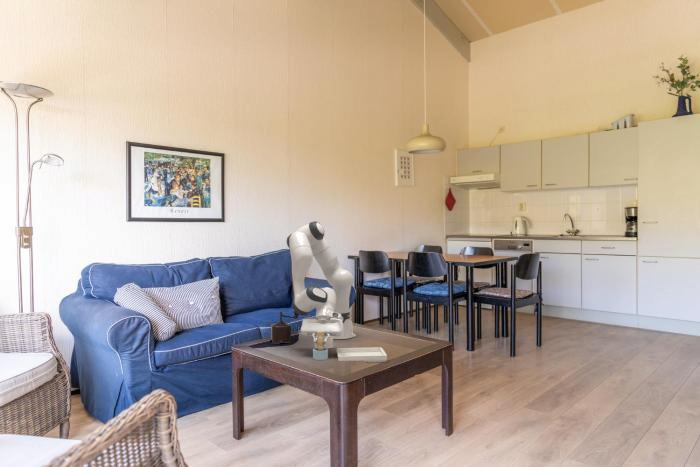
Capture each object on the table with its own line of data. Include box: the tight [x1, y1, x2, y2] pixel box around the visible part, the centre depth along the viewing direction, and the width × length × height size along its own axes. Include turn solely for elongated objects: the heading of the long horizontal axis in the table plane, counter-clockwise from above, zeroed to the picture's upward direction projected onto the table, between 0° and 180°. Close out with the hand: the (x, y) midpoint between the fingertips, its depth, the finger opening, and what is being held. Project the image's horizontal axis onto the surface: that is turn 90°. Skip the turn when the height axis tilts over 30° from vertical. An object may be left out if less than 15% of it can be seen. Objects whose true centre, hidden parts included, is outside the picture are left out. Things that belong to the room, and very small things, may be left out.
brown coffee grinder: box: [270, 310, 300, 343], centre depth 250 cm, size 16×11×18 cm
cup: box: [312, 347, 329, 361], centre depth 211 cm, size 7×7×5 cm
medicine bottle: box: [313, 336, 334, 350], centre depth 232 cm, size 7×7×12 cm
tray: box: [336, 346, 388, 364], centre depth 215 cm, size 16×22×3 cm
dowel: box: [317, 331, 324, 351], centre depth 211 cm, size 3×3×12 cm
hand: (320, 342), depth 211 cm, fingers closed on dowel, 3 cm apart
